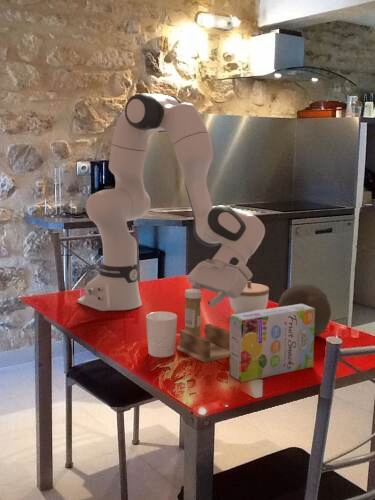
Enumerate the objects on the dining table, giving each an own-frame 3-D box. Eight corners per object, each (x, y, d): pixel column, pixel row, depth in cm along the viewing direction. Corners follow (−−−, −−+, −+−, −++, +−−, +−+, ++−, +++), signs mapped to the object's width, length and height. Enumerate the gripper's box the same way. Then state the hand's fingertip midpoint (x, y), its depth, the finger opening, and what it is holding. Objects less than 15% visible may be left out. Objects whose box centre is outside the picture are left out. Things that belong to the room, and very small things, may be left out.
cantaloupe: (310, 326, 173) (313, 277, 170) (339, 341, 160) (342, 288, 157) (269, 331, 168) (270, 281, 165) (295, 347, 155) (297, 293, 152)
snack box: (299, 360, 146) (301, 302, 143) (313, 367, 141) (316, 308, 138) (227, 375, 136) (229, 313, 133) (240, 383, 131) (242, 319, 128)
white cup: (149, 359, 145) (149, 321, 143) (143, 349, 152) (143, 312, 151) (180, 357, 147) (180, 319, 145) (172, 346, 154) (172, 310, 153)
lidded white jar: (250, 307, 193) (251, 275, 191) (276, 317, 183) (277, 282, 181) (220, 313, 186) (221, 280, 184) (245, 323, 176) (246, 288, 174)
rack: (176, 349, 153) (177, 330, 152) (209, 341, 159) (209, 322, 158) (204, 362, 143) (205, 342, 142) (238, 353, 150) (238, 334, 149)
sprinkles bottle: (203, 337, 162) (204, 290, 160) (190, 340, 160) (190, 292, 157) (194, 333, 166) (195, 287, 164) (181, 335, 164) (181, 289, 161)
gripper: (199, 251, 173) (172, 288, 169) (245, 262, 157) (217, 303, 153) (210, 264, 177) (184, 300, 173) (257, 276, 160) (229, 316, 156)
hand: (200, 301), depth 163 cm, fingers open, 8 cm apart
